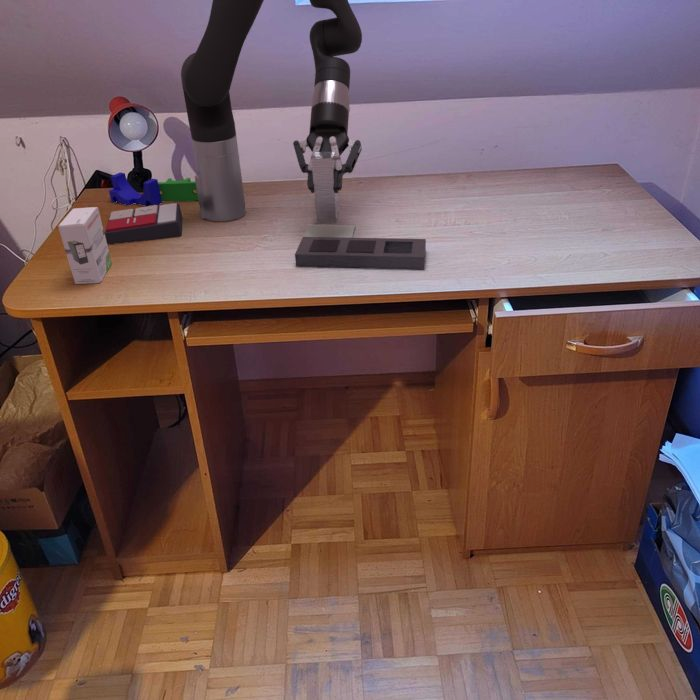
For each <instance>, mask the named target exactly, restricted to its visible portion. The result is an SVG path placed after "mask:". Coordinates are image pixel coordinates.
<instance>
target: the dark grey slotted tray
mask: <svg viewBox="0 0 700 700" xmlns="http://www.w3.org/2000/svg"><path fill="white" fill-rule="evenodd" d="M426 243H427V239H426V238H393V237H392V238H390V237H389V238H388V237H387V238H386V237H352V238H344V237H303V236H302V237H301V240H300V242H299V244H298V247H297V249H296V251H295V253H294V259H295V266H296V267H297V268H298V267H299V268H301V267H304V268H305V267H308V268H341V269H342V268H344V269H345V268H347V269H348V268H349V269H386V270H388V269H390V270H391V269H392V270H425V264H426V263H425V260H426V251H427V249H426V246H427V244H426Z"/></svg>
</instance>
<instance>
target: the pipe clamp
mask: <svg viewBox="0 0 700 700" xmlns="http://www.w3.org/2000/svg"><path fill="white" fill-rule="evenodd" d="M158 185H159V190H160V194H161V199H162V201H181V202H199V199H198V194H197V188H196V182H195V180H194V181H192V180H191V177H186V178H185V179H181V180H173V179H172V178H167V180H166V181H165V182H159V181H158ZM194 191H195V192H194ZM195 200H196V201H195ZM197 200H198V201H197Z"/></svg>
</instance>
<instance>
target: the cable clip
mask: <svg viewBox="0 0 700 700" xmlns="http://www.w3.org/2000/svg"><path fill="white" fill-rule="evenodd" d="M110 179H111V184H112V187H113V188H112V189H110V190H108V193H109V196H110V197H109V198H110V201H111V203H113V202H116V201H117V203H121V204H120V205H122V204H126V205H125V206H127V205H131V204H133V203H136V204H135V205H137V204H141V205H145V206H144V207H146V206H149V205H151V206H153V205H158V206H160V205H159V204H160V203H162V204H163V202H162V199H161V194H162V193H161V191H160V190H159V185H158V182H159V180H158V178H151V179H148V180H146V181H144V182H143V191H142V193H139V192H138V191H136V190H135V189H134V188H133V187H132V186H131V185H130V182H129V180H128V178H127V177H126V173H125V172H118V173H115V174H113V175H110ZM117 203H116V204H117ZM133 205H134V204H133ZM141 205H140V206H141ZM131 206H132V205H131Z"/></svg>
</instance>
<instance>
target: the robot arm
mask: <svg viewBox="0 0 700 700" xmlns="http://www.w3.org/2000/svg"><path fill="white" fill-rule="evenodd" d="M264 1H265V0H212V2H211V7H210V12H209V13H210V14H209V18H208V22H207V25H206V28H205V31H204V34H203V36H202V38H201V40H200V43H199V45H198V46H197V49H196V50H195V52H193V53H191V54H189V55H188V56H187V57H186V59H184V61H183V64H182V66H181V71H180V79H181V84H182V90H183V91H182V92H183V96H184V102H185V109H186V114H187V121H188V125H189V131H190V136H191V142H192V147H193V154H194V161H195V166H196V171H197V172H196V173H197V174H195V176H194V181H195V182H196V188H197V192H196V193H197V194H198V199H199V201H198V204H199V210H200V211H199V212H200V217H201V219H205V220H209V221H211V222H229V221H234V220H238V219H240V218H243V217H244V216H245V215H246V213H247V209H246V208H247V207H246V200H245V191H244V184H243V177H242V169H241V162H240V161H241V160H240V154H239V146H238V137H237V131H236V123H235V118H234V114H233V109H232V108H233V107H232V102H231V96H230V91H231V90H230V89H231V86H232V82H233V79H234V75H235V71H236V68H237V65H238V62H239V58H240V55H241V52H242V48H243V46H244V43H245V42H246V39H247V36H248V35H249V33H250V31H251V29H252V27H253V24H255V23H254V22H255V21H256V18H257V16H258V14H259V12H260V10H261V7H262V5H263V3H264ZM309 3H310V5H311V6H312V7H313V8H315V9H316V8H317V9H325V10H327V9H328V10H329V11H331V12H332V13H333V14H334V15H335V16H336V17H333V18H328V19H327V18H326V19H321V20H318V21H316V22H315V23H314V24H313V25H312V26H311V29H310V31H309V42H310V46H311V51H312V55H313V61H314V69H315V74H314V88H313V93H312V98H311V107H310V109H311V111H310V119H309V120H310V122H309V123H310V124H309V133H308V135H307V137H306V138H305V140H302V141H299V140H294V141H293V142H292V145H293V149H294V151H295V155H296V158H297V162H298V166H299V168H300V170H301V172H302V173H303V174H307V179H306V184H307V185H306V186H307V188H308V190H309V192H311V194H314V183H313V172H312V159H311V158H312V157H313V155H314V153H315V152H336V153H335V167H336V171H335V174H334V184H333V190H334V192H335V193H338V194H339V191H341V190H342V188H343V176H344V175H345V174H347V173H348V174H351V173H353V171H354V168H355V166H356V164H357V161H358V159H359V157H360V155H361V153H362V149H363V148H362V143H361V141H360V140H358V139H356V140H351V139H350V137H349V136H348V130H349V119H350V118H349V117H350V111H351V110H350V109H351V107H350V100H351V99H350V82H351V67H350V64H349V63H348V62H347V60H345V59H343V58H341V57H338V56H344V55H351V54H354V53H356V52H358V51H359V49H360V48H361V45H362V42H363V34H362V33H363V32H362V30H361V26H360V24H359V21H358V19H357V17H356V15H355V14H354V13H355V12H354V11H353V9H352V7H351V5H350V2H349V1H348V0H309ZM307 147H308V148H309V150H310V151H311V155H310V159H309V162H308V163H307V162H306V159H305V156H304V154H305V153H306V152H307ZM347 148H348V149H349V155H348V156H347V158H346V162H345V163H342V158H341V156H342V154H343V153H344V152H345V151H346V149H347Z"/></svg>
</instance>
